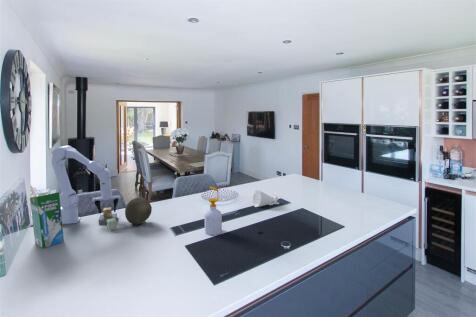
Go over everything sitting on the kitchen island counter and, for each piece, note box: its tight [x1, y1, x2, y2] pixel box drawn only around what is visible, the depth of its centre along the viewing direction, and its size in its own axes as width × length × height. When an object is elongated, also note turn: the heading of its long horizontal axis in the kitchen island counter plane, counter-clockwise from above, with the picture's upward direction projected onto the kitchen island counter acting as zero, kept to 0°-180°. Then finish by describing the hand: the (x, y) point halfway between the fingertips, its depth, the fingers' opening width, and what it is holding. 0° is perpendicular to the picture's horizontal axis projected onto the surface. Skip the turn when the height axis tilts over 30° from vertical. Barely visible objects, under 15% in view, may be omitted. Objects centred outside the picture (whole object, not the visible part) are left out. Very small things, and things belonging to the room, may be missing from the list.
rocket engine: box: [252, 189, 280, 208], centre depth 190 cm, size 12×12×18 cm
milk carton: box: [29, 191, 65, 249], centre depth 130 cm, size 9×9×25 cm
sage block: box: [106, 218, 118, 231], centre depth 148 cm, size 4×4×5 cm
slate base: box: [97, 212, 118, 225], centre depth 159 cm, size 9×9×2 cm
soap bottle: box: [203, 185, 223, 236], centre depth 143 cm, size 9×9×25 cm
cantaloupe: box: [124, 197, 153, 226], centre depth 154 cm, size 14×14×15 cm
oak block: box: [102, 206, 113, 218], centre depth 159 cm, size 4×4×5 cm
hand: (107, 212), depth 159 cm, fingers open, 7 cm apart
